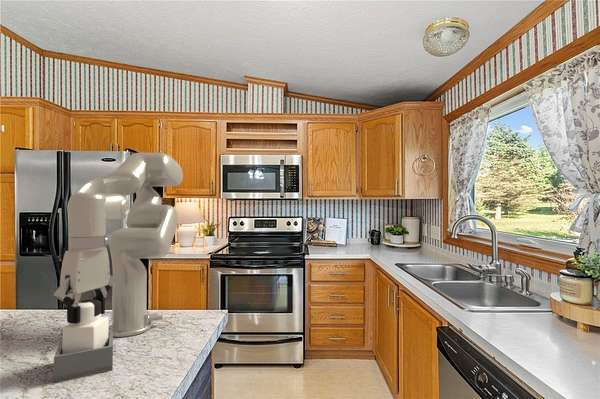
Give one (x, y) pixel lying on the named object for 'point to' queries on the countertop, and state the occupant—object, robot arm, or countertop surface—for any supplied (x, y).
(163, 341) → the countertop surface
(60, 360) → the bin
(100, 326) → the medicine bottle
